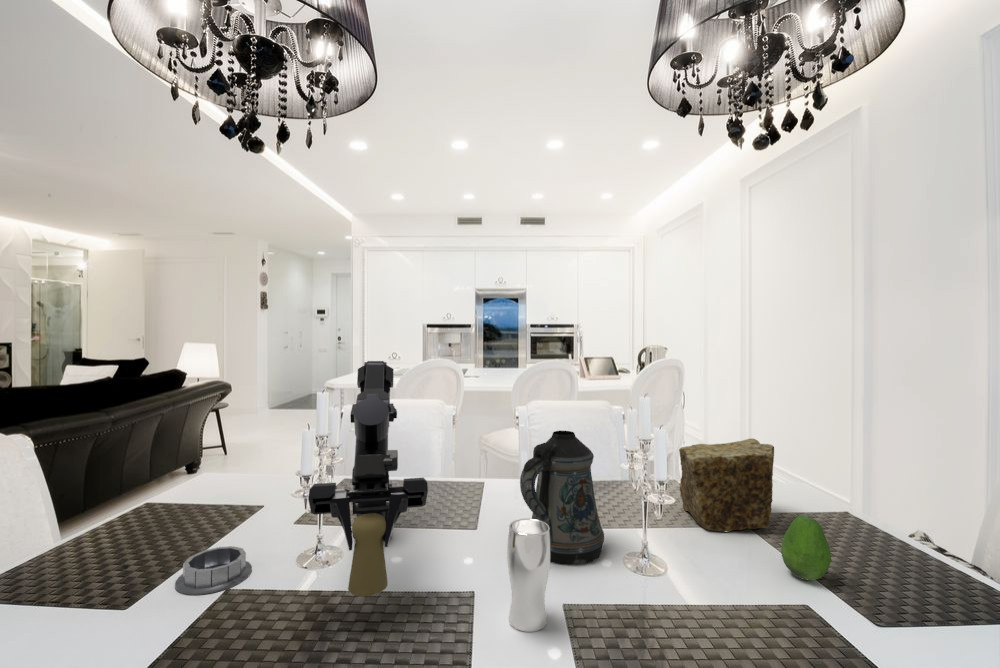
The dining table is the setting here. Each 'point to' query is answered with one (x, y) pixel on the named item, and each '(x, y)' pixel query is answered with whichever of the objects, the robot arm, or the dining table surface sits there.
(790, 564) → the avocado
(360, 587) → the olive game pawn
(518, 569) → the beer glass
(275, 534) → the dining table surface
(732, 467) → the decorative stone
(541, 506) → the beer stein
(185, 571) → the duct collar
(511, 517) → the dining table surface
